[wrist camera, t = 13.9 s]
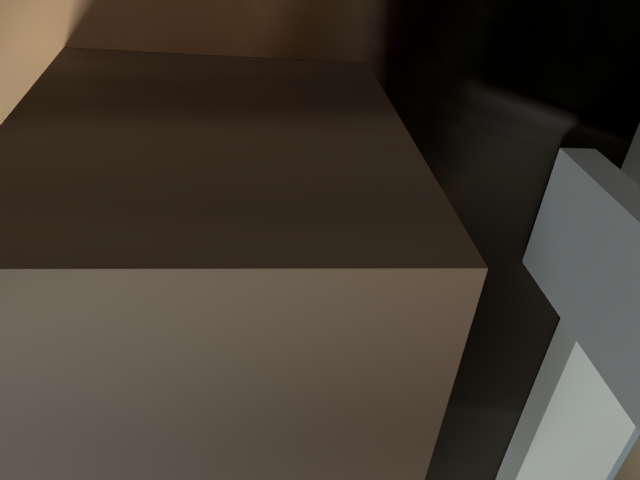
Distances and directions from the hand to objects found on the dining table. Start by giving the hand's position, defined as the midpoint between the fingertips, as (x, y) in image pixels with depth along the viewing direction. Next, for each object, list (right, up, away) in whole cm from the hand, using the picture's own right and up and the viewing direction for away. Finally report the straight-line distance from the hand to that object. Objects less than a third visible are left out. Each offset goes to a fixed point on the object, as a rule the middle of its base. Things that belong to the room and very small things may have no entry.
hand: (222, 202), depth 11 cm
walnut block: (0, 0, 0) cm, 0 cm away
